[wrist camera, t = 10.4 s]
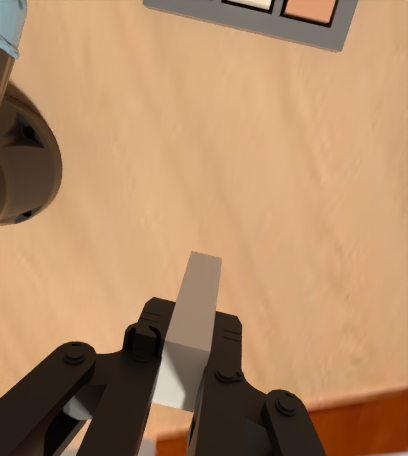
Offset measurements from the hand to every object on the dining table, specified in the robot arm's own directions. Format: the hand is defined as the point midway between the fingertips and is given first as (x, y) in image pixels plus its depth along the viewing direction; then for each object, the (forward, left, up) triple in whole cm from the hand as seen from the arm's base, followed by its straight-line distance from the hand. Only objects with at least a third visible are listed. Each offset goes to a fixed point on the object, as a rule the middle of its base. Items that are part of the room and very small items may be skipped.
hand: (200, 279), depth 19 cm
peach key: (+4, +17, -26) cm, 31 cm away
